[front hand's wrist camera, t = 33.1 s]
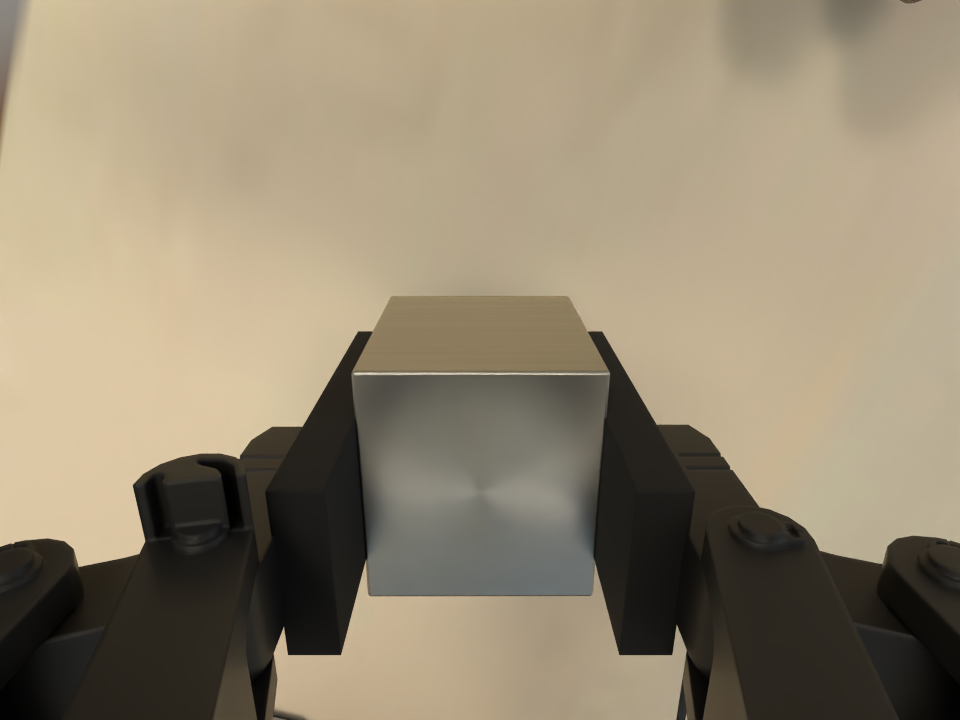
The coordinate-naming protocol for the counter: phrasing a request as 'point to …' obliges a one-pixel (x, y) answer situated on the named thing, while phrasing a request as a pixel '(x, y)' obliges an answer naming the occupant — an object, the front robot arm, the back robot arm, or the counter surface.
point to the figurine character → (910, 1)
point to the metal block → (480, 447)
